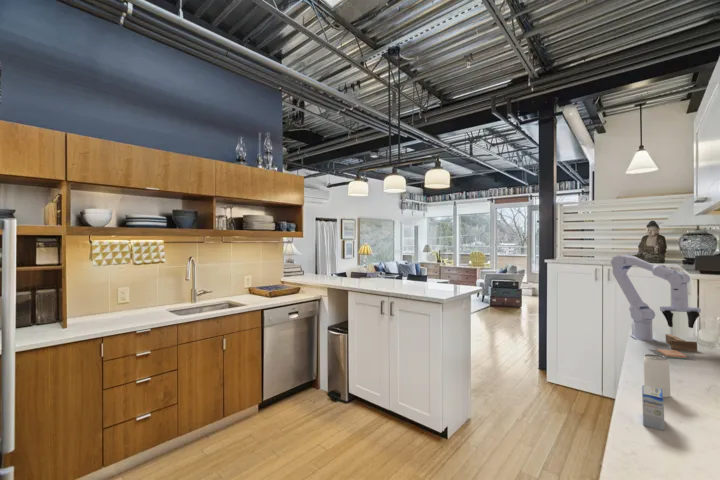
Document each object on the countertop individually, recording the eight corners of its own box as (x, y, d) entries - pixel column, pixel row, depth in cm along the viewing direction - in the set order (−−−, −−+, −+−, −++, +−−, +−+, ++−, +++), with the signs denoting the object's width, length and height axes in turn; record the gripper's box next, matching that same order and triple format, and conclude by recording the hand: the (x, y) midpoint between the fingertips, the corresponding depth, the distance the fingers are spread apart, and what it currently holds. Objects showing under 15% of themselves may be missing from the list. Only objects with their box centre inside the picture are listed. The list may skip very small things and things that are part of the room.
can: (639, 392, 113) (638, 355, 113) (650, 388, 116) (649, 352, 116) (663, 399, 107) (662, 361, 108) (674, 395, 110) (673, 358, 110)
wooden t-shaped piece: (657, 343, 168) (657, 333, 168) (680, 344, 165) (680, 335, 165) (672, 350, 155) (671, 340, 155) (697, 352, 152) (696, 342, 153)
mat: (648, 350, 156) (648, 349, 156) (679, 352, 153) (679, 351, 153) (662, 359, 144) (662, 357, 144) (696, 361, 141) (696, 360, 141)
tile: (656, 349, 153) (666, 354, 145) (676, 350, 150) (686, 355, 143) (656, 351, 153) (666, 357, 145) (676, 353, 150) (687, 358, 143)
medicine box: (642, 414, 98) (641, 384, 99) (663, 419, 96) (662, 388, 96) (643, 426, 92) (642, 393, 93) (665, 431, 90) (663, 398, 90)
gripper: (664, 298, 159) (665, 328, 159) (704, 299, 154) (705, 330, 154) (657, 296, 166) (658, 324, 165) (695, 297, 161) (696, 326, 161)
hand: (680, 327), depth 160 cm, fingers open, 7 cm apart
